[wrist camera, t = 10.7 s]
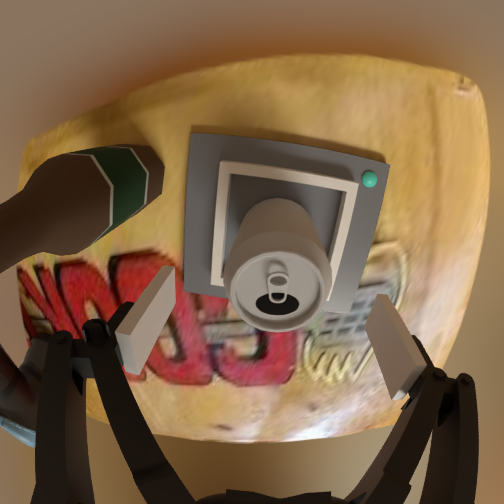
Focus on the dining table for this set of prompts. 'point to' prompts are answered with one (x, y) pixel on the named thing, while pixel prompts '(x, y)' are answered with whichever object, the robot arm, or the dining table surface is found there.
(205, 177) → the dock
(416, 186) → the dining table surface
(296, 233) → the can
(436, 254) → the dining table surface
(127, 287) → the dining table surface
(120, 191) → the beer bottle
